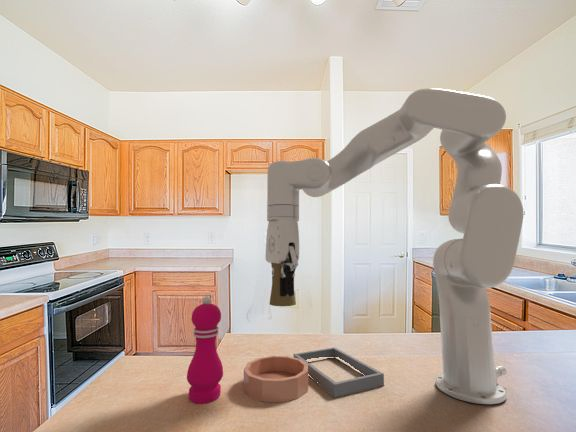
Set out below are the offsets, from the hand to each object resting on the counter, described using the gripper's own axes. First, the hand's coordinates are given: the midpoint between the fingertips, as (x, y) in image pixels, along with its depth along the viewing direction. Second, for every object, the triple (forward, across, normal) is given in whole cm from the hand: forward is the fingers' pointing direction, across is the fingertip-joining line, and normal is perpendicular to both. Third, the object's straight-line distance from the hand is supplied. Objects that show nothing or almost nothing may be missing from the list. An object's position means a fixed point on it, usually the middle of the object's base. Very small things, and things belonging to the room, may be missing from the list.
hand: (282, 293), depth 69 cm
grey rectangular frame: (+20, 0, +14) cm, 24 cm away
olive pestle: (+2, 0, 0) cm, 2 cm away
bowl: (+20, 0, -2) cm, 20 cm away
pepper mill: (+20, -2, -16) cm, 26 cm away
